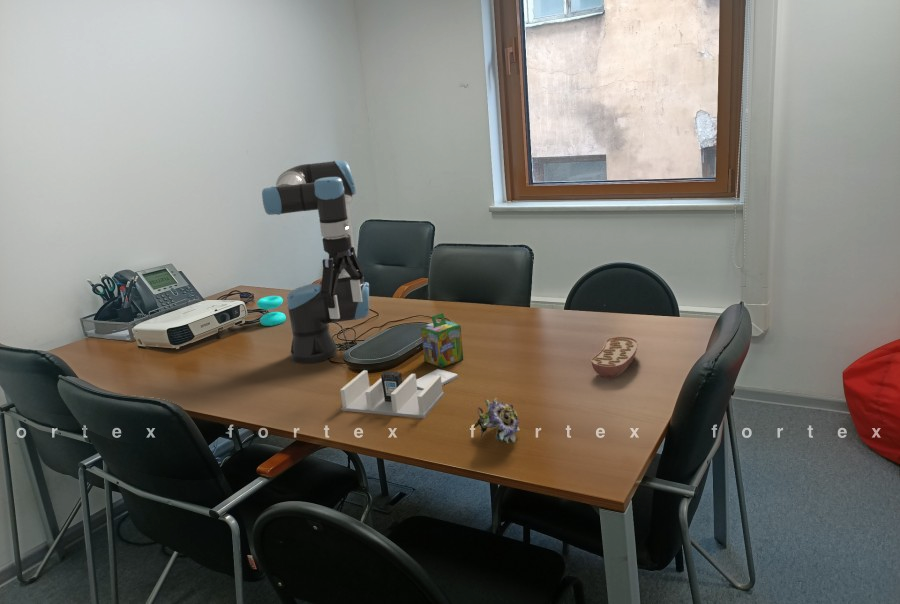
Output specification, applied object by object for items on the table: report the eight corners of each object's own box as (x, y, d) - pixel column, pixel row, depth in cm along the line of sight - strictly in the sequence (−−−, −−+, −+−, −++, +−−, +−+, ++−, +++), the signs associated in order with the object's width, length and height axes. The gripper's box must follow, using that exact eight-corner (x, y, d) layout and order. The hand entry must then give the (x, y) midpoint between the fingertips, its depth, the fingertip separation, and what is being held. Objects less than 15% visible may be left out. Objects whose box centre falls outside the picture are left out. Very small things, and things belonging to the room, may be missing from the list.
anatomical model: (610, 351, 192) (609, 335, 190) (643, 354, 187) (643, 338, 185) (587, 381, 173) (587, 364, 171) (624, 385, 168) (624, 368, 166)
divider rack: (366, 388, 181) (363, 369, 180) (444, 394, 172) (442, 375, 171) (341, 410, 169) (338, 390, 167) (424, 418, 160) (421, 397, 158)
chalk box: (441, 368, 190) (436, 322, 186) (423, 361, 197) (418, 316, 193) (464, 359, 195) (460, 313, 191) (446, 352, 202) (441, 308, 198)
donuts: (262, 303, 241) (252, 299, 249) (267, 328, 244) (256, 323, 252) (286, 297, 247) (275, 293, 255) (290, 321, 250) (279, 317, 258)
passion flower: (513, 462, 147) (511, 440, 137) (468, 450, 150) (463, 428, 140) (525, 419, 153) (524, 395, 143) (481, 409, 156) (478, 385, 146)
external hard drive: (407, 388, 180) (437, 373, 188) (428, 395, 174) (458, 378, 183) (407, 383, 179) (437, 368, 188) (427, 389, 174) (457, 373, 182)
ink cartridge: (384, 401, 170) (380, 374, 168) (388, 398, 172) (384, 370, 170) (401, 402, 168) (397, 375, 166) (404, 399, 170) (400, 371, 168)
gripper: (325, 248, 159) (337, 326, 166) (368, 225, 181) (377, 295, 188) (299, 247, 161) (312, 325, 168) (345, 225, 183) (355, 294, 190)
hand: (346, 309), depth 178 cm, fingers open, 13 cm apart
